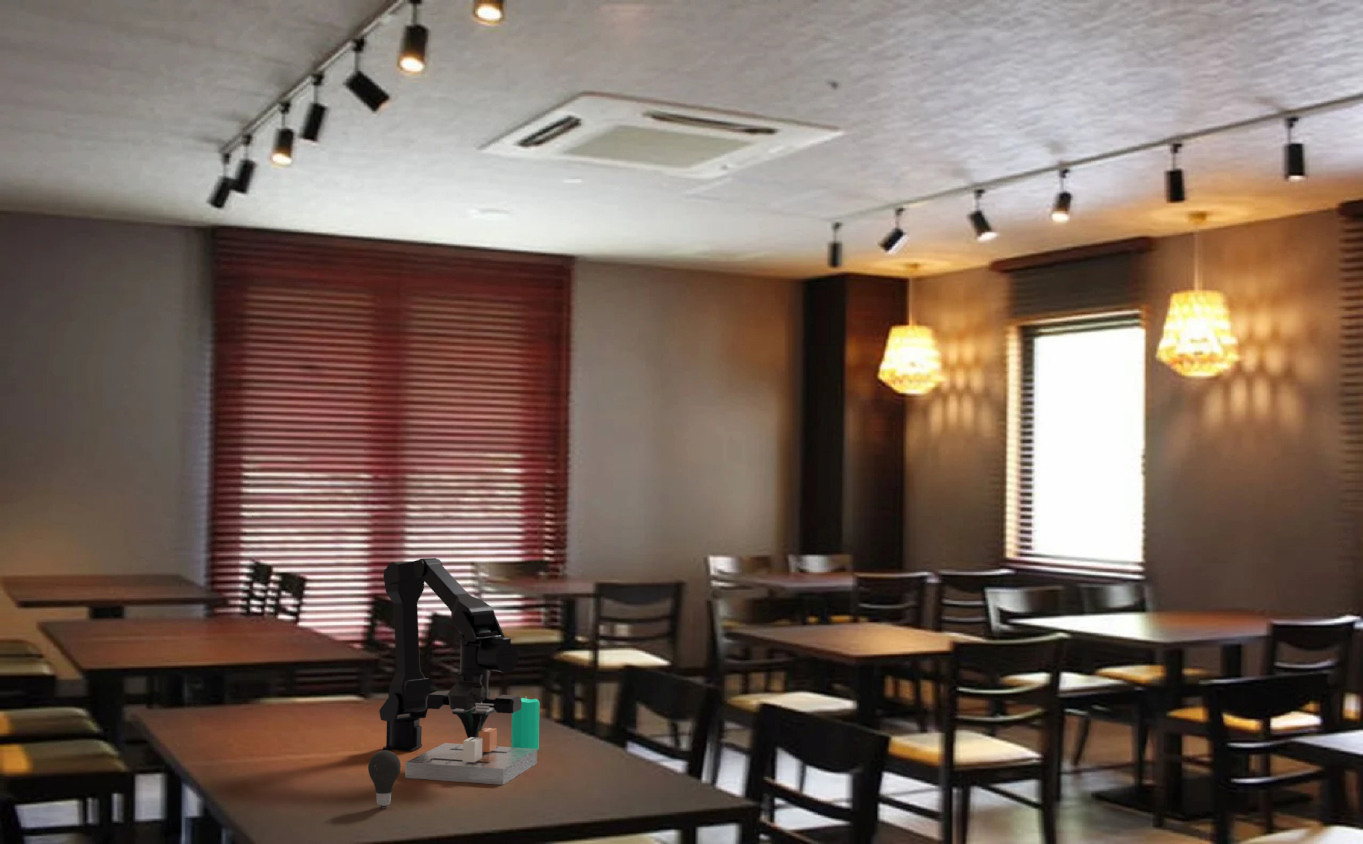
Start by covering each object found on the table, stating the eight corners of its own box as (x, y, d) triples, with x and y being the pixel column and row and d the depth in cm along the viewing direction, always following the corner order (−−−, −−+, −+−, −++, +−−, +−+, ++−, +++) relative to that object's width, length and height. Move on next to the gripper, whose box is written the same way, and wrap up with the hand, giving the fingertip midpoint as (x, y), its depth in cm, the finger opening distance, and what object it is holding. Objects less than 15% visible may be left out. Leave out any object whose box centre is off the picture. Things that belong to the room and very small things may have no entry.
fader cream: (462, 776, 273) (463, 740, 273) (470, 771, 277) (470, 736, 277) (474, 776, 272) (475, 741, 272) (481, 772, 276) (482, 737, 276)
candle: (534, 753, 298) (535, 696, 299) (506, 751, 300) (508, 694, 300) (542, 747, 304) (543, 691, 305) (515, 746, 306) (517, 690, 306)
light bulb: (369, 803, 251) (370, 747, 252) (401, 803, 252) (402, 747, 252) (365, 811, 246) (366, 753, 246) (397, 811, 246) (399, 754, 247)
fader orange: (477, 765, 283) (478, 731, 283) (484, 761, 287) (485, 727, 287) (489, 766, 282) (489, 731, 282) (496, 762, 286) (496, 728, 286)
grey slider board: (405, 778, 273) (405, 761, 273) (444, 757, 292) (445, 742, 292) (503, 784, 268) (503, 768, 268) (536, 763, 288) (536, 748, 288)
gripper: (415, 670, 280) (413, 749, 279) (504, 675, 276) (502, 755, 275) (437, 663, 291) (435, 739, 290) (523, 667, 287) (521, 745, 286)
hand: (472, 745), depth 285 cm, fingers closed
